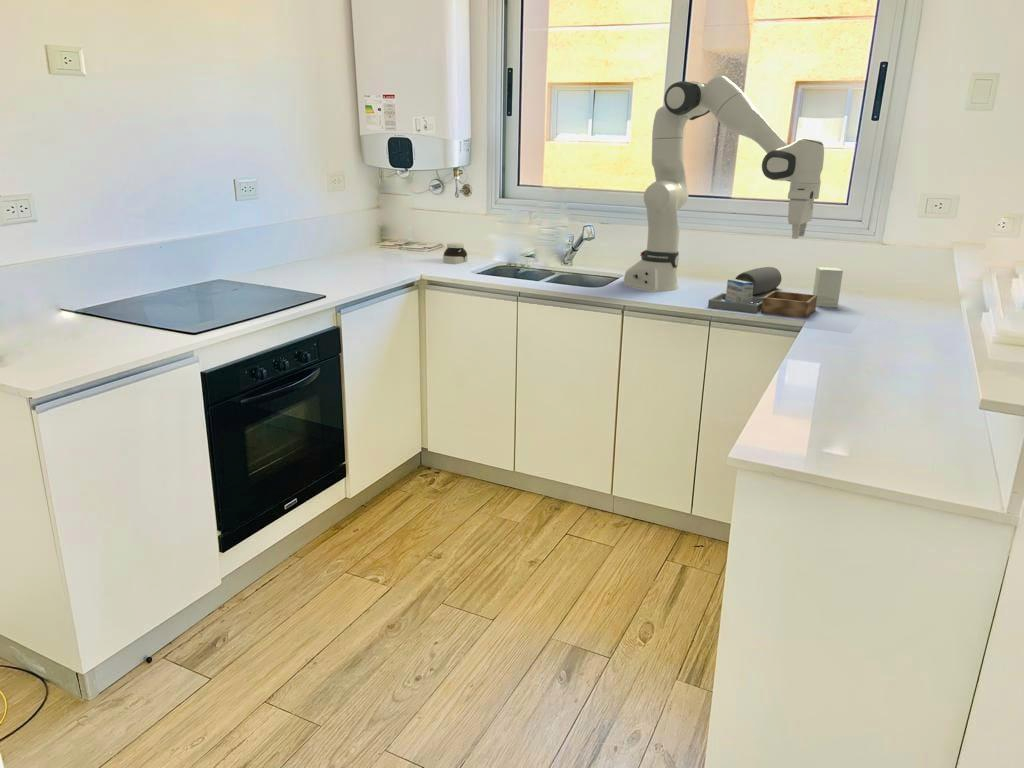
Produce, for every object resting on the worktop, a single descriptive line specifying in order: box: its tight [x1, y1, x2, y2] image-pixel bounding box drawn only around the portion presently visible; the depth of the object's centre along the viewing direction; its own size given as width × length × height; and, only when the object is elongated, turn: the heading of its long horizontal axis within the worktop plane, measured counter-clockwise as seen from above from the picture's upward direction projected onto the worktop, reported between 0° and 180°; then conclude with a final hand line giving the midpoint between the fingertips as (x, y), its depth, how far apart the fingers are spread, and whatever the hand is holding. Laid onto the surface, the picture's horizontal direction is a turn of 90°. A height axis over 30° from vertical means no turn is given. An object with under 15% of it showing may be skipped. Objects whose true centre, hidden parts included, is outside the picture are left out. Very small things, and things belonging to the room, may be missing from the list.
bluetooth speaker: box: [734, 266, 783, 297], centre depth 272 cm, size 23×9×10 cm, turn 139°
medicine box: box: [724, 278, 754, 304], centre depth 252 cm, size 8×4×9 cm, turn 29°
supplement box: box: [812, 266, 844, 308], centre depth 257 cm, size 7×7×13 cm
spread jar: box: [442, 242, 468, 265], centre depth 311 cm, size 12×11×12 cm
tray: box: [707, 292, 763, 314], centre depth 252 cm, size 16×16×2 cm
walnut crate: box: [760, 290, 817, 319], centre depth 246 cm, size 14×16×5 cm
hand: (798, 237), depth 239 cm, fingers open, 8 cm apart
